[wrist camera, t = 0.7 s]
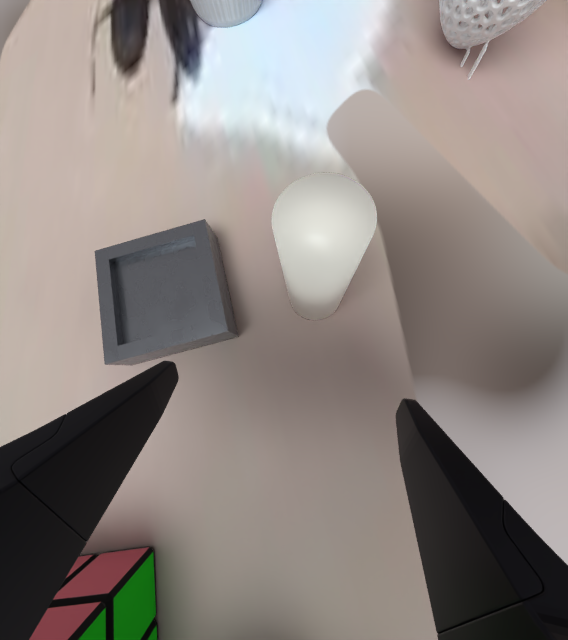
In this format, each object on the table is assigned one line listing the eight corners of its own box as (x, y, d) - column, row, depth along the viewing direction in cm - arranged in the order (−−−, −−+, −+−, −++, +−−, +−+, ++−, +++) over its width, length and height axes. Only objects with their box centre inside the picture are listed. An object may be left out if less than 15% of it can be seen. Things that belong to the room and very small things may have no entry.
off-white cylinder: (351, 295, 24) (399, 214, 11) (314, 331, 23) (323, 287, 11) (315, 261, 25) (322, 154, 12) (278, 295, 24) (250, 219, 12)
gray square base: (238, 336, 24) (227, 331, 21) (131, 365, 24) (104, 364, 21) (217, 237, 26) (204, 219, 23) (120, 265, 27) (94, 250, 23)
